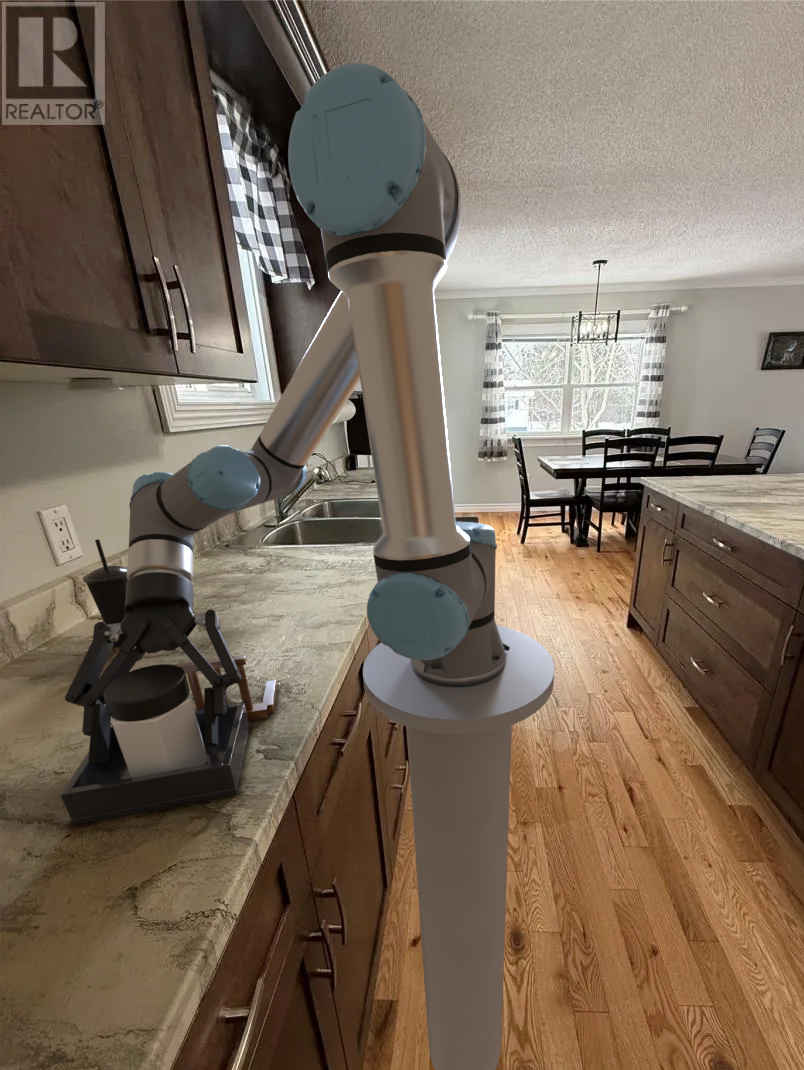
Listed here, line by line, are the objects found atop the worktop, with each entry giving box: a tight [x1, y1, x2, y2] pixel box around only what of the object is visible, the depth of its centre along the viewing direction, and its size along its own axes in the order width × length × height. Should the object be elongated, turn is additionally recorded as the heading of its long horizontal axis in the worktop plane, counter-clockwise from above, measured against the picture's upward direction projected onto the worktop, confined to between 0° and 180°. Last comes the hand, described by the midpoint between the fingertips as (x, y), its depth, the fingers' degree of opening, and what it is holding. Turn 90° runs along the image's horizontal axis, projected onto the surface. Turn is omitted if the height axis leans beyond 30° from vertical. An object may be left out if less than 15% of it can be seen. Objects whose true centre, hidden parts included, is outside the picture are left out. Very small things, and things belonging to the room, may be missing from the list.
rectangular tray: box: [60, 702, 251, 826], centre depth 59 cm, size 17×13×4 cm
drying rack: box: [131, 654, 278, 722], centre depth 69 cm, size 18×8×10 cm, turn 104°
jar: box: [103, 663, 208, 778], centre depth 57 cm, size 9×8×12 cm
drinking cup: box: [82, 539, 129, 647], centre depth 89 cm, size 8×8×20 cm
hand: (156, 754), depth 55 cm, fingers open, 11 cm apart
